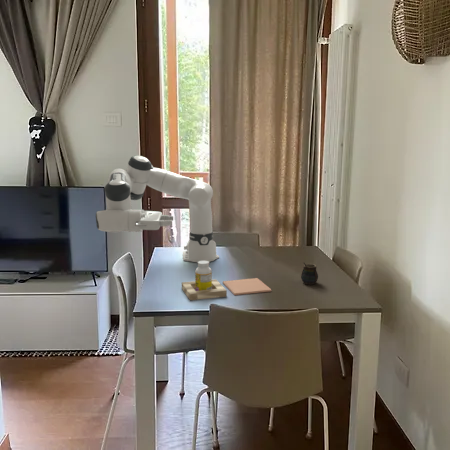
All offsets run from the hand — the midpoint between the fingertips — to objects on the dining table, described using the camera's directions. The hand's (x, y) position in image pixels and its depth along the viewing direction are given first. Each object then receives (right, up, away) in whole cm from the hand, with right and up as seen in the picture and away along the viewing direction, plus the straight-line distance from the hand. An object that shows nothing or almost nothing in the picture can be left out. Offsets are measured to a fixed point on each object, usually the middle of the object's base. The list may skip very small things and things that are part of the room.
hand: (172, 220), depth 186 cm
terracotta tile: (+30, -28, +13) cm, 43 cm away
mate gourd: (+57, -27, +19) cm, 66 cm away
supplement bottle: (+12, -30, +7) cm, 33 cm away
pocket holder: (+12, -29, +7) cm, 32 cm away
